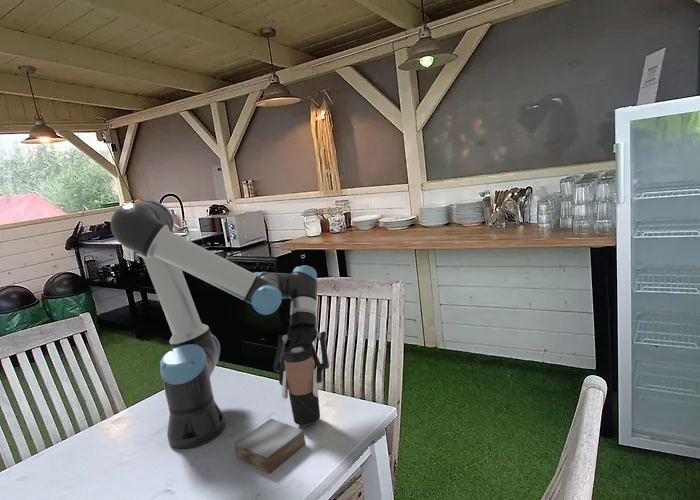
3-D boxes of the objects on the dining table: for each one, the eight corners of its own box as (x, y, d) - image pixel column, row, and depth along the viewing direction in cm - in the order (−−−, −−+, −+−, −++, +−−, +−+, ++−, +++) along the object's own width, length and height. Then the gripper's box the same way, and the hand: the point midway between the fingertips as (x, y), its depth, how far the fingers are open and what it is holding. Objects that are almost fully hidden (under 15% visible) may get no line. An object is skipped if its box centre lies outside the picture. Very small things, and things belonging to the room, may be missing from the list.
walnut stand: (237, 457, 109) (234, 443, 109) (273, 431, 119) (270, 418, 118) (269, 473, 102) (267, 457, 101) (305, 444, 111) (303, 430, 110)
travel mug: (318, 425, 116) (308, 352, 113) (289, 426, 117) (279, 354, 114) (323, 410, 123) (313, 341, 120) (296, 411, 124) (286, 343, 121)
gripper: (340, 318, 130) (341, 398, 117) (272, 324, 132) (266, 402, 119) (336, 307, 124) (336, 389, 111) (265, 313, 126) (257, 394, 113)
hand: (300, 396), depth 115 cm, fingers closed on travel mug, 7 cm apart
